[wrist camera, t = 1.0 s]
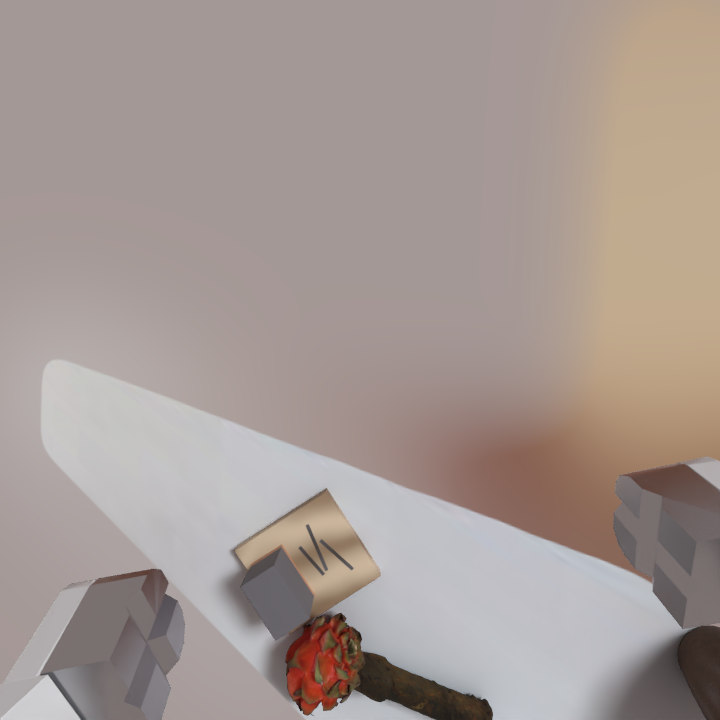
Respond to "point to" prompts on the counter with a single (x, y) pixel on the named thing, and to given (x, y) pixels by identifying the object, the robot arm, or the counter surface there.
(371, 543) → the counter surface
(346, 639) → the dragon fruit
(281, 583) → the block
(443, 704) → the dark brown rough rod
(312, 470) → the counter surface
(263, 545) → the pine board
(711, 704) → the plant pot
